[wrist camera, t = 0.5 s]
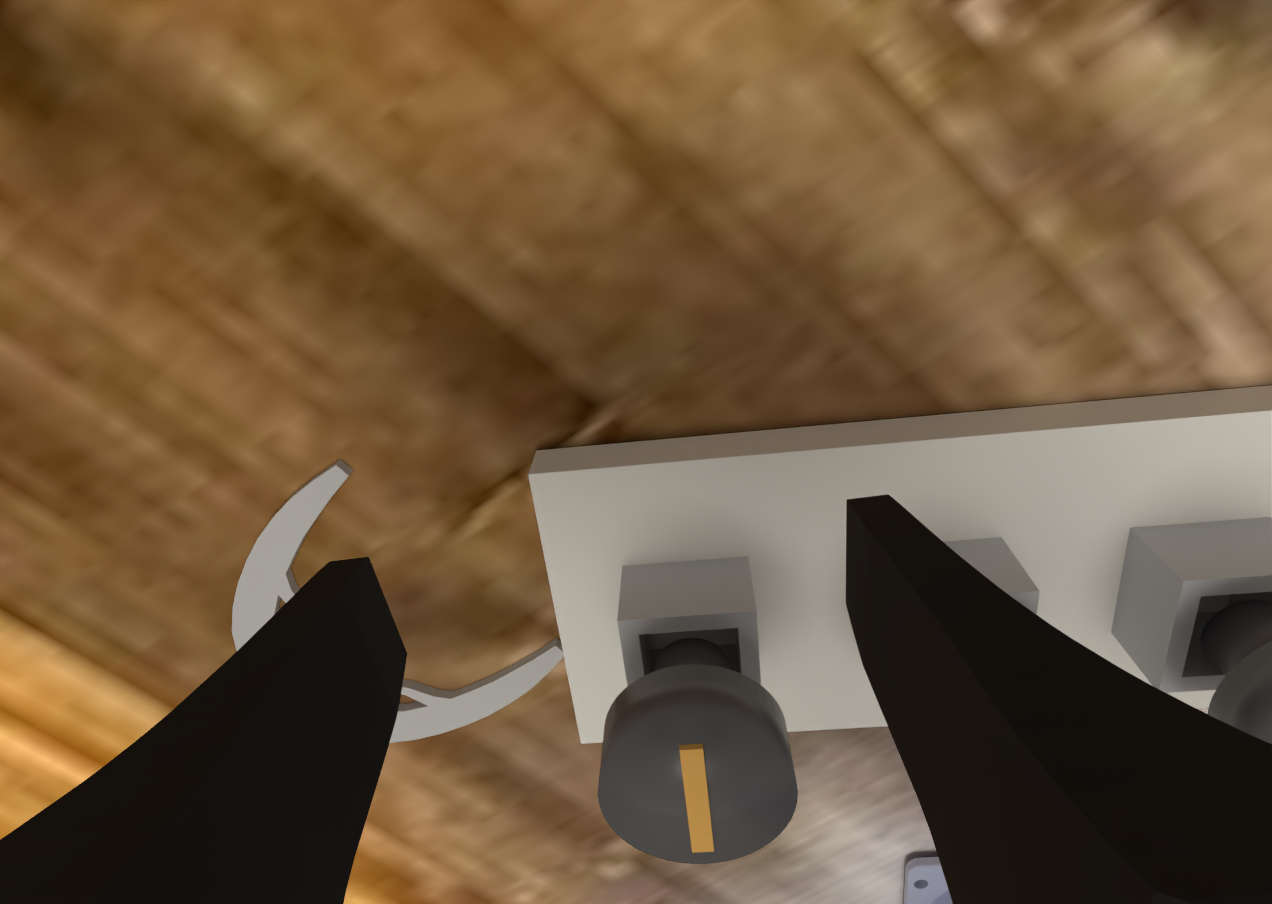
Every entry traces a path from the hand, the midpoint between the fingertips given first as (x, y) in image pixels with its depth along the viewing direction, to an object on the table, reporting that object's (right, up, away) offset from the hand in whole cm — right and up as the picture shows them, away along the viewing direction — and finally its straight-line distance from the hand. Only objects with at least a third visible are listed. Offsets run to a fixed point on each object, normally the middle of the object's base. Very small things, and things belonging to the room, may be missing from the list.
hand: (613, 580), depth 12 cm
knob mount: (+9, -2, +12) cm, 15 cm away
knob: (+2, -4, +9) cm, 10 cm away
